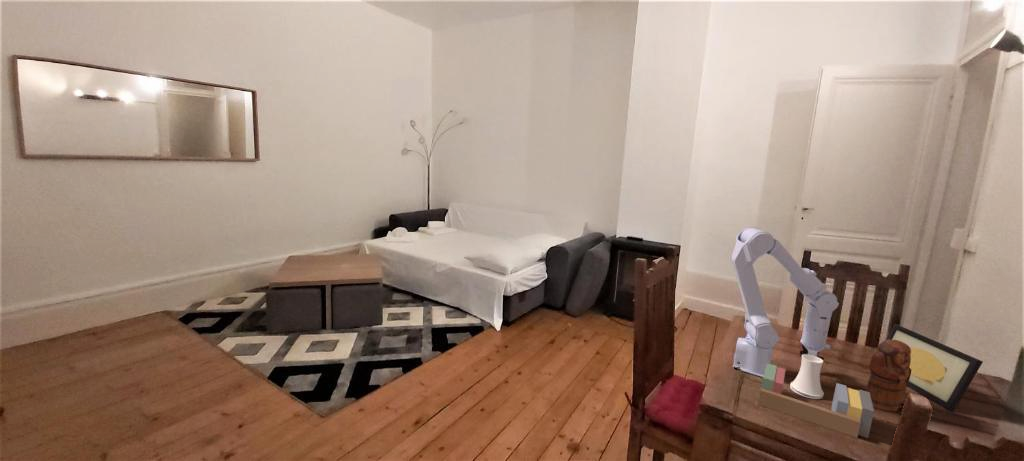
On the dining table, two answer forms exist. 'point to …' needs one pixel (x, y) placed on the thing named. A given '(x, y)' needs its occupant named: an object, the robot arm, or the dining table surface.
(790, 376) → the dining table surface
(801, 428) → the dining table surface
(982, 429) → the dining table surface
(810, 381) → the vase
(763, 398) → the book row
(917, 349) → the picture frame
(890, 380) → the wooden figurine
